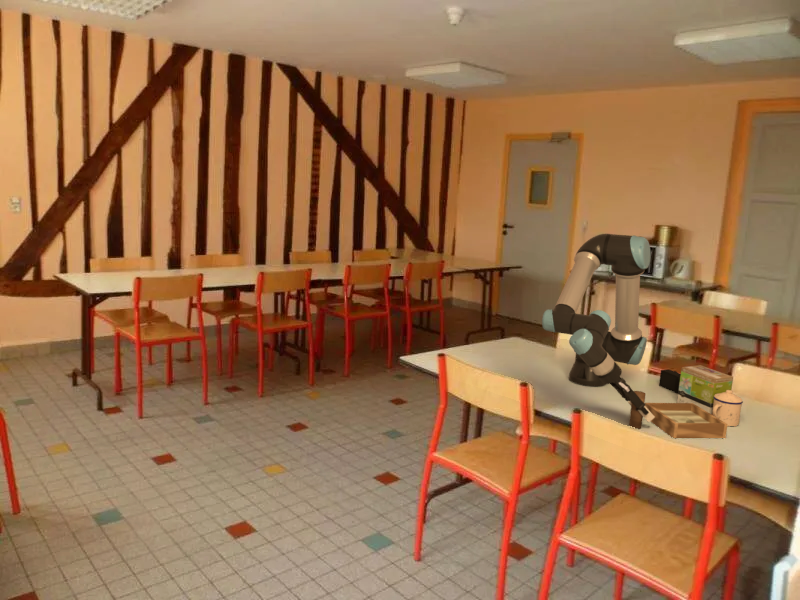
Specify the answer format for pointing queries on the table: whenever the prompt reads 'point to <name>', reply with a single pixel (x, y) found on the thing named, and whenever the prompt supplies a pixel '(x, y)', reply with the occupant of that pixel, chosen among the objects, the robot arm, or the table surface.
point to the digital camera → (670, 380)
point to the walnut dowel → (636, 412)
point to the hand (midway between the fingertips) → (646, 416)
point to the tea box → (702, 386)
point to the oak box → (686, 421)
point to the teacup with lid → (727, 407)
